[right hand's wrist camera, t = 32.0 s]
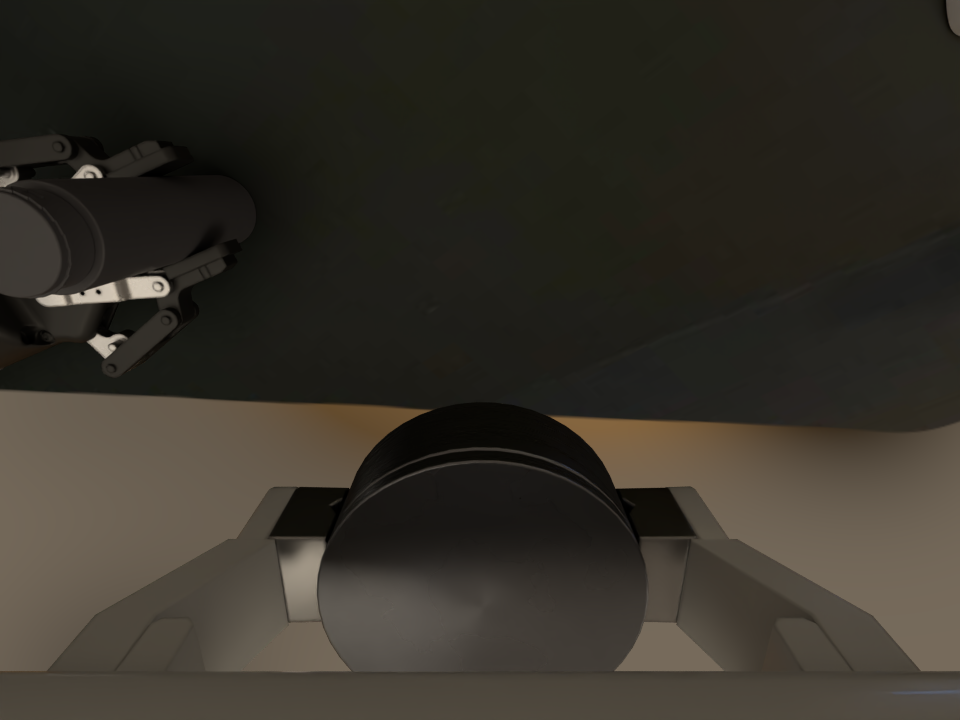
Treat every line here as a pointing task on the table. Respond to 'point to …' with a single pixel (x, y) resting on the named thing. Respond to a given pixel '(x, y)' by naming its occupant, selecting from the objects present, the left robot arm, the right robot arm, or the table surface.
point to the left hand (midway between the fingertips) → (207, 200)
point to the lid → (482, 550)
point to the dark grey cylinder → (111, 228)
